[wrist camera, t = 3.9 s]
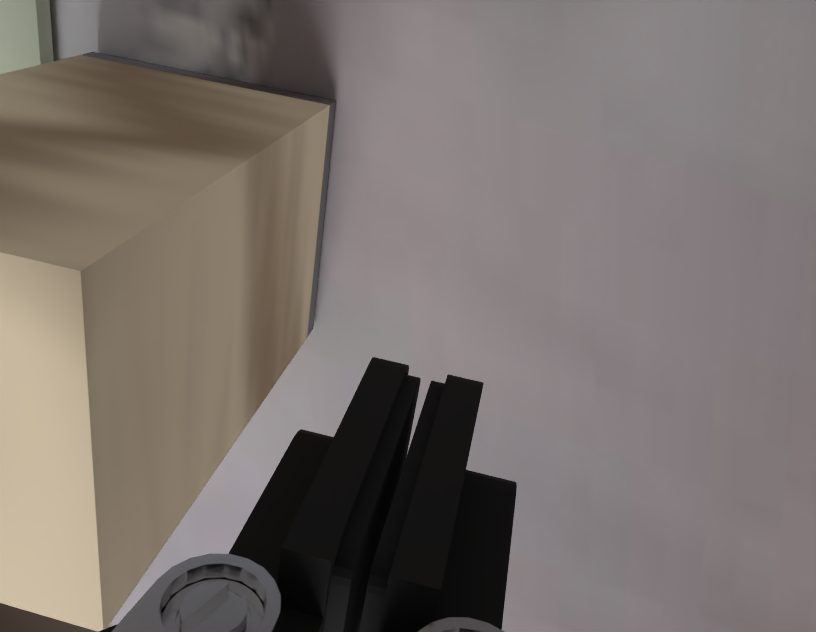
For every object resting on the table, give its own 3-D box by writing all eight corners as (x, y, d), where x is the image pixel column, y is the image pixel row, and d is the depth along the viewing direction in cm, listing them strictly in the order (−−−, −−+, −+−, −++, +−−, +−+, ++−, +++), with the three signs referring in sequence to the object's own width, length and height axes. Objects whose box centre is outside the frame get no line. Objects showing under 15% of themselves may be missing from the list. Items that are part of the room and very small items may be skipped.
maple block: (336, 100, 17) (80, 270, 8) (313, 328, 20) (103, 633, 11) (92, 52, 18) (-377, 163, 9) (104, 279, 21) (-248, 530, 12)
